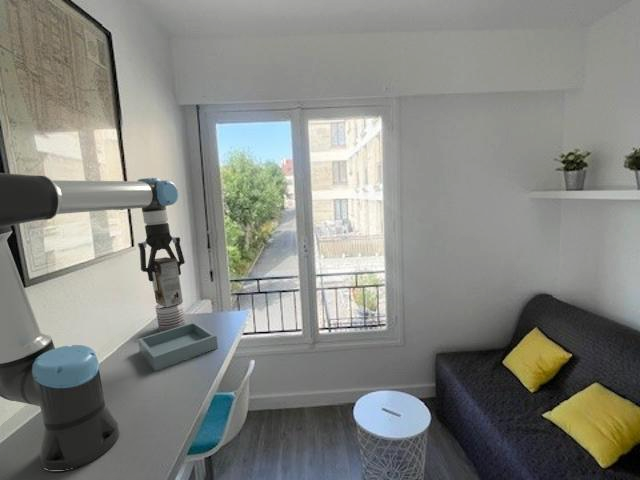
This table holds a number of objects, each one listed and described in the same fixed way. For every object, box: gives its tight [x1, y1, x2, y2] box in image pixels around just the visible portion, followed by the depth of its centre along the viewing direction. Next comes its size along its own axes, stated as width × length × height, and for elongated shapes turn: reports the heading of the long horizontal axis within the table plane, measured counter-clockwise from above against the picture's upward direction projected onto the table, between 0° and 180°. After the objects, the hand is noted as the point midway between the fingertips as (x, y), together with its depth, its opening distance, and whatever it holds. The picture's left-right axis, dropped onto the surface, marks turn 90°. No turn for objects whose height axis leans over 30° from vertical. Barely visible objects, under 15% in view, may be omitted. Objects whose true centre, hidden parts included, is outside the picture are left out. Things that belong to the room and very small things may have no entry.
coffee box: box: [152, 256, 184, 307], centre depth 123 cm, size 9×6×16 cm
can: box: [154, 298, 186, 333], centre depth 155 cm, size 11×11×12 cm
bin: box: [137, 321, 219, 372], centre depth 131 cm, size 22×22×5 cm
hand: (166, 286), depth 124 cm, fingers closed on coffee box, 7 cm apart
